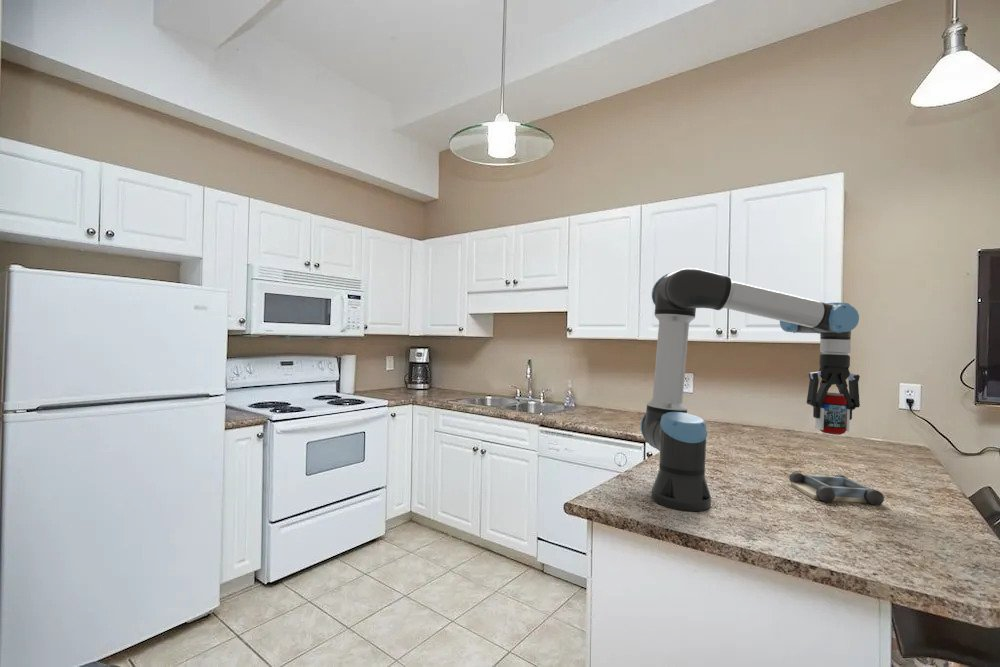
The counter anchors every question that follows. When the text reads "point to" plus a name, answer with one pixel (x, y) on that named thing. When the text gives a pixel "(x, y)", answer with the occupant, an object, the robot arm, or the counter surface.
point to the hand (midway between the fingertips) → (831, 429)
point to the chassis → (834, 489)
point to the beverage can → (834, 413)
